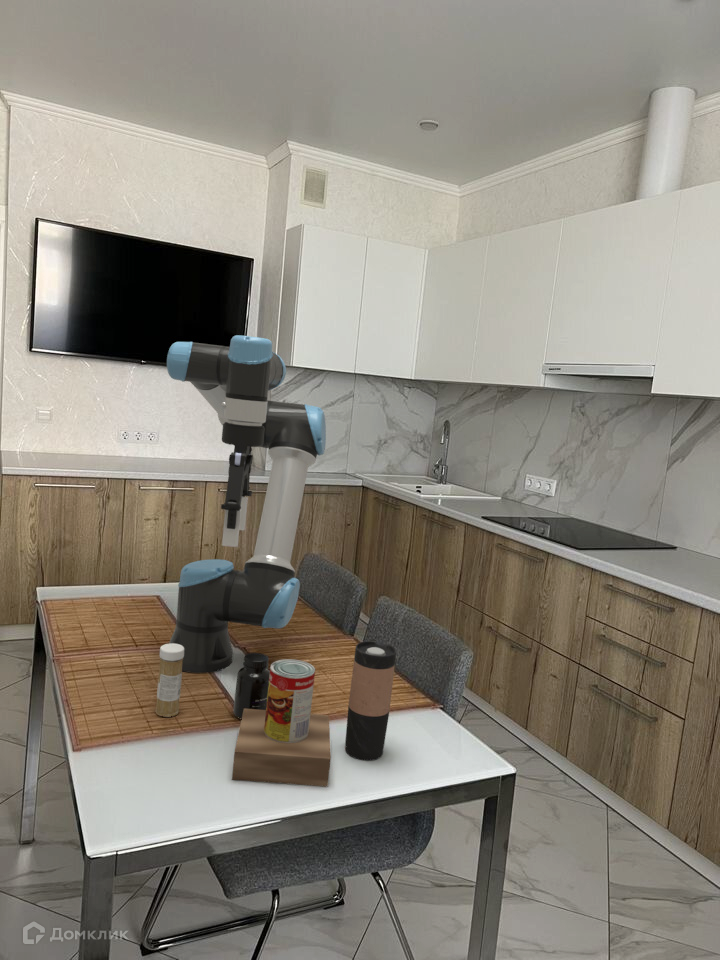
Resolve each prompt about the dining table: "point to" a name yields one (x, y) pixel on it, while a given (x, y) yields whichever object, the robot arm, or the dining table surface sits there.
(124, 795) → the dining table surface
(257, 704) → the supplement bottle
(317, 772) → the walnut riser
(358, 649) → the travel mug
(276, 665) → the canned food
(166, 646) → the sprinkles bottle
